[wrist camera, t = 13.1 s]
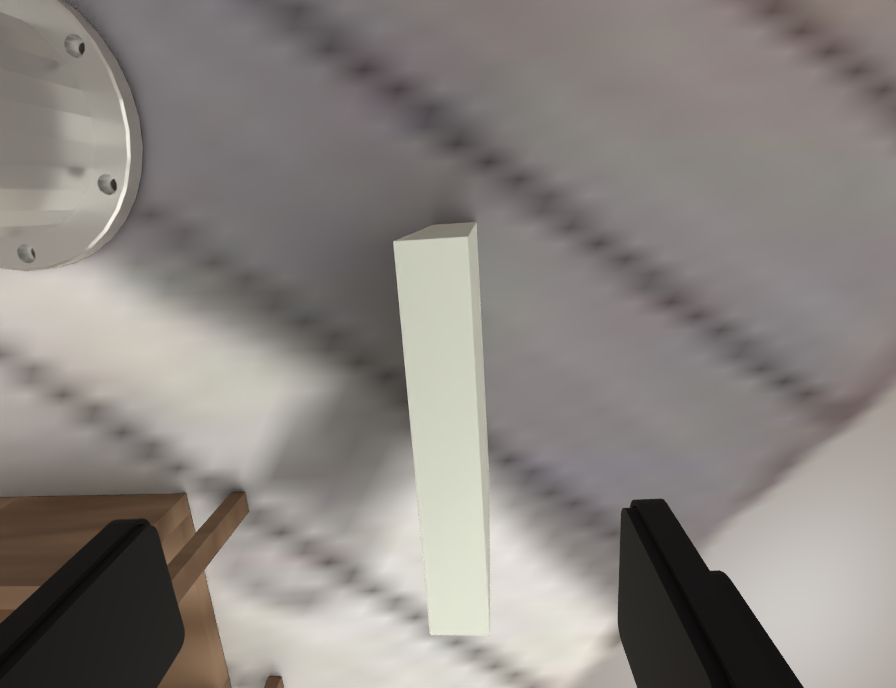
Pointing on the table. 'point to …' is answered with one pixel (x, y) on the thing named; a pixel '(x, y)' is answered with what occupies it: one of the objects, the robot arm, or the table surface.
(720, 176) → the table surface
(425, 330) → the cover plate
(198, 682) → the box
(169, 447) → the table surface
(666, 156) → the table surface
